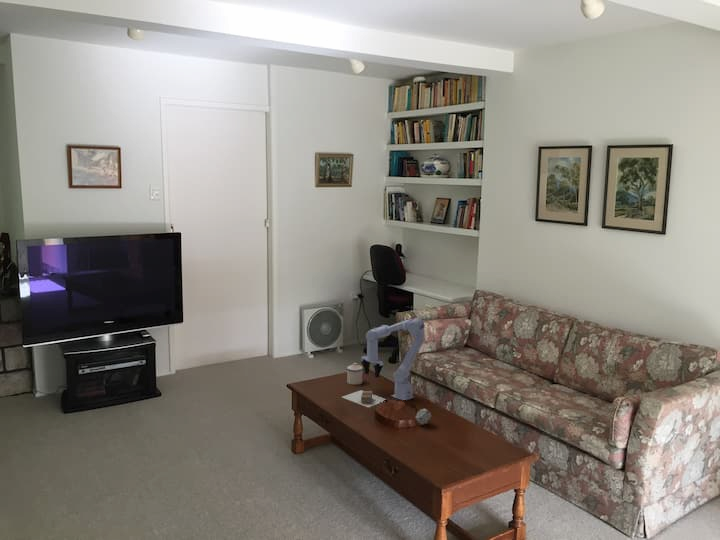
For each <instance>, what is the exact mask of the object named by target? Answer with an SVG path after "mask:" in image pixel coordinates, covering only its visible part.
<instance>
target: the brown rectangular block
mask: <svg viewBox="0 0 720 540" xmlns="http://www.w3.org/2000/svg"><path fill="white" fill-rule="evenodd" d="M362 391H363V393H362V396H361V403H365V404H371V401H372V394H373V391H364V390H362Z"/></svg>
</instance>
